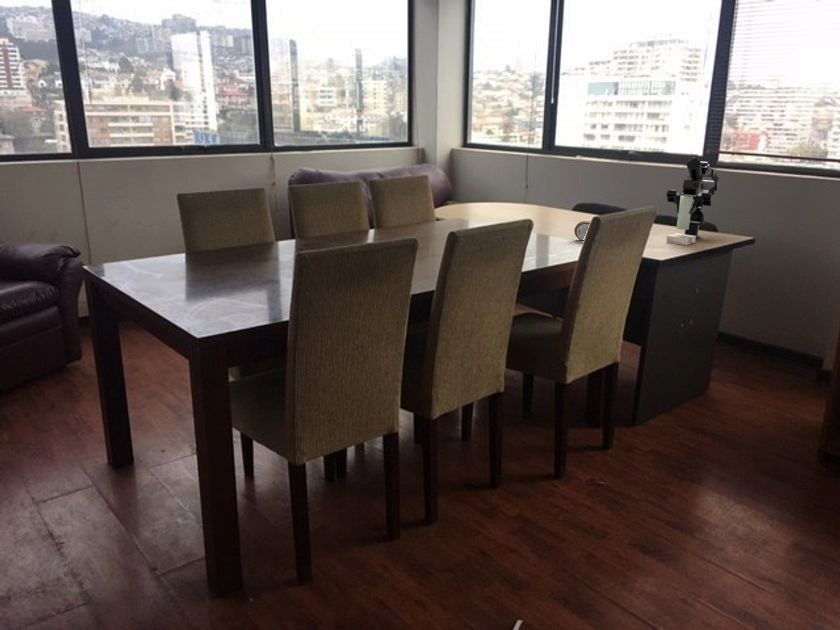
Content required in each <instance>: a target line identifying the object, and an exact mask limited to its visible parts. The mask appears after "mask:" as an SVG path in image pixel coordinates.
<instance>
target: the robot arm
mask: <svg viewBox="0 0 840 630" xmlns="http://www.w3.org/2000/svg"><path fill="white" fill-rule="evenodd" d="M686 170H687V176H688V179H684V180H683V183H682V186H681V187H682V193H681V192H678V190H675V189H668V190H667V191H666V193H665V194H666V200H667V202H668V203H673V204H675V205H676V213H677V214H678V213H679V205H680V198H681V196H692V197H693V202H692V208H691V210H690V214H691V215H690V222H689V229H688V230H684V234H685V235H692V236H696V239H698V238H700V237H701V235H699V228H700V226H702V225H703V226H704V225H705V214H704V211H703V210H704V209H703V208H704V207H707V206H708V207H711V206H712V205H713V196H715V194H716V193H717V192H718V191H719V188H720V178H719V177H718V175H717V174H716V169H715V168H712V167H711V165H710V164H709V162H708V161H701V160H700V159H699V158H698V157H693V159H692V160H690V161H688V162H687V163H686ZM708 177H709V178H711V179H712V180H706V179H704V178H708Z"/></svg>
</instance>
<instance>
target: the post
mask: <svg viewBox="0 0 840 630" xmlns="http://www.w3.org/2000/svg"><path fill="white" fill-rule="evenodd" d="M693 202H694V200H693V197H692V196H681V198H680V205H679V212H678V213H677V223H676V229H677V230H681V231H682V230H683V231H685V230H688V229H689V222H690V215H691V214H690V210H691V208H692V203H693Z"/></svg>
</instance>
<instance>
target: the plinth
mask: <svg viewBox="0 0 840 630" xmlns="http://www.w3.org/2000/svg"><path fill="white" fill-rule="evenodd" d="M696 239H697V238H696V236H692V235H685V233H684V234H683V233H677V232H676V233H671V234H668V235H666V243H669V244H675V245H682V246H689V245H692V244H691V243H693V244H695V243H696ZM694 242H695V243H694ZM688 244H689V245H688Z"/></svg>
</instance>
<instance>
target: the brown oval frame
mask: <svg viewBox="0 0 840 630" xmlns="http://www.w3.org/2000/svg"><path fill="white" fill-rule="evenodd" d="M590 222H591V221H590V220H589V221H586V220H585V221H580V222H578V223H577V224H576V225H575V227H574V235H575V237H576V238H577V239H578V240H579V241H582V240H583V239H584V236H585V234H586V231H587V229H588V226H589V224H590Z"/></svg>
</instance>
